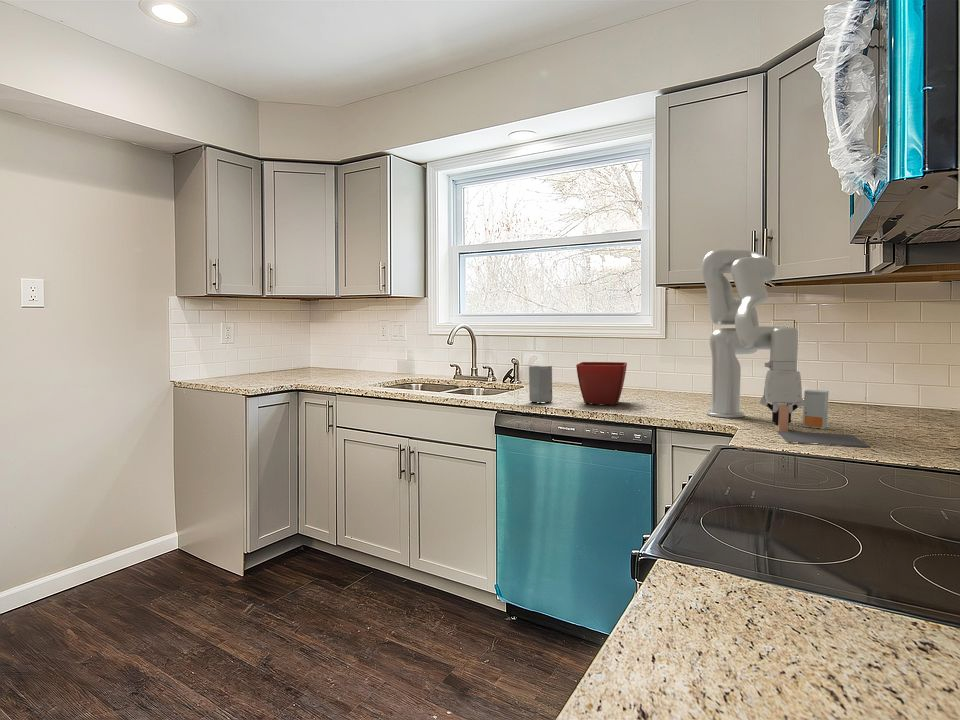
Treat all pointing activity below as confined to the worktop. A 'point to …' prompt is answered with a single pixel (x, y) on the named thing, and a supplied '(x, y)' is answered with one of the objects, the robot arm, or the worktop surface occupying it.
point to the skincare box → (815, 409)
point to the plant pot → (601, 381)
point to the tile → (782, 417)
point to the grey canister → (540, 383)
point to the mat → (822, 438)
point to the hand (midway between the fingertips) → (781, 424)
